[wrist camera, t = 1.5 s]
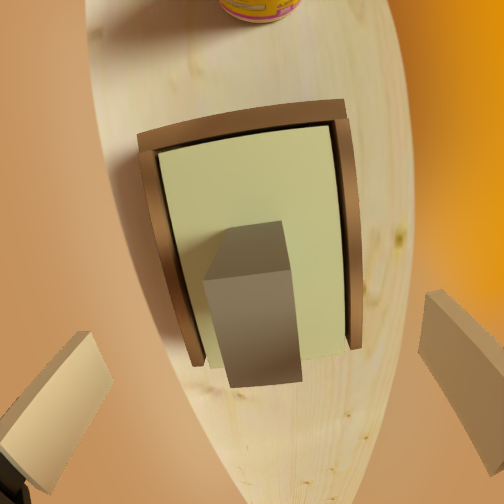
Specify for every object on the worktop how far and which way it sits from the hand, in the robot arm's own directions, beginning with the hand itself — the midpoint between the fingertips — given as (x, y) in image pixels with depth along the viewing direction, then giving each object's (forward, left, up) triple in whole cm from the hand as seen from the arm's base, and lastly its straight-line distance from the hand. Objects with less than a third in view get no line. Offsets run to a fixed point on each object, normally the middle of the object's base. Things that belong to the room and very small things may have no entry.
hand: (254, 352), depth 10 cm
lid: (0, 0, -10) cm, 10 cm away
